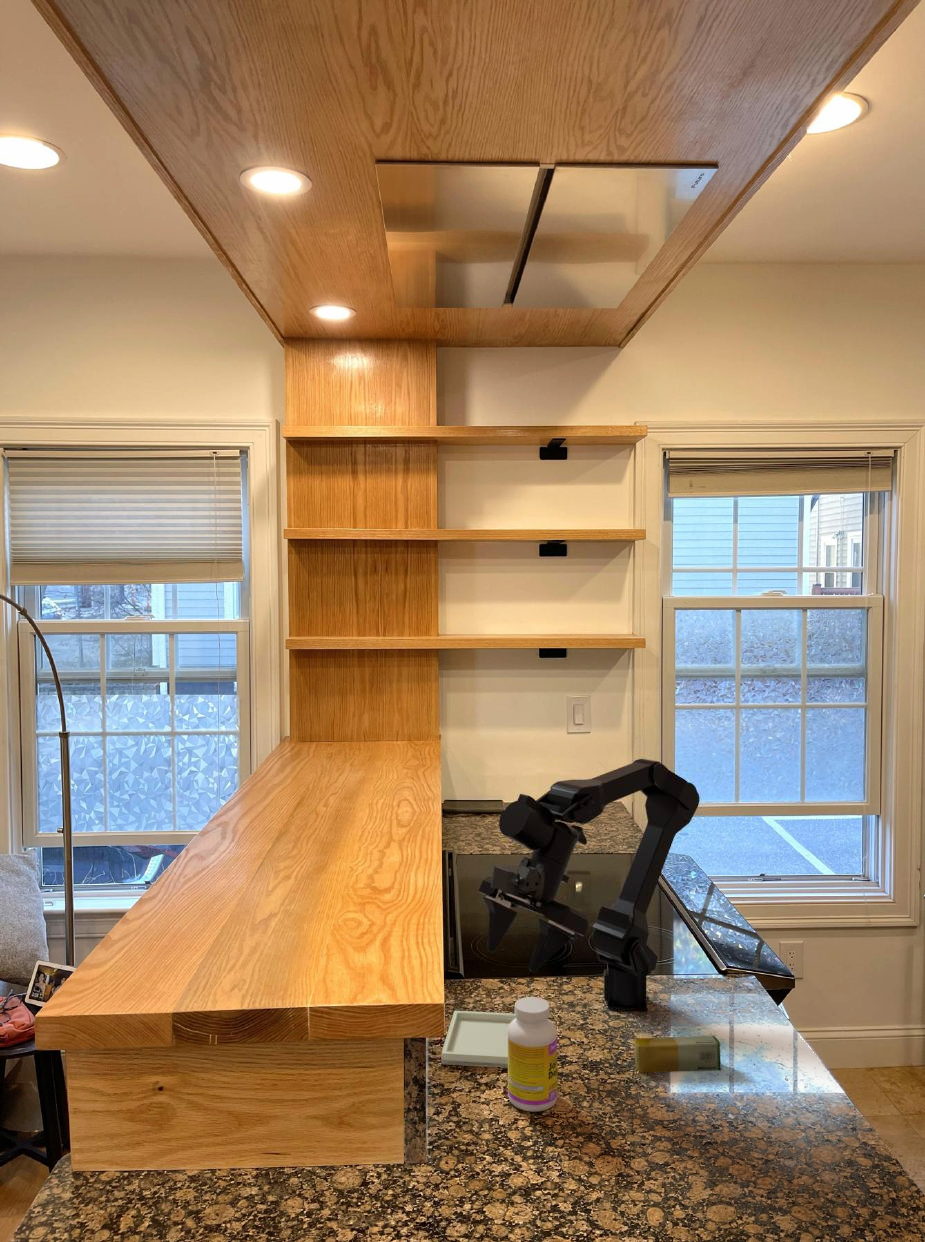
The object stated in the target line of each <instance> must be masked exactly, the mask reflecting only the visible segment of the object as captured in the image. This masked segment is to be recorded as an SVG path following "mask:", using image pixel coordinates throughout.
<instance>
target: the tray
mask: <svg viewBox="0 0 925 1242" xmlns="http://www.w3.org/2000/svg"><path fill="white" fill-rule="evenodd" d="M515 1018H516V1016H515V1013H511V1012H509V1013H508V1012H507V1013H506V1012H488V1011H485V1012H484V1011H472V1010H471V1011H470V1010H454V1011H453V1014H452V1018H451V1020H450V1024H449V1027H448V1030H447V1034H446V1037H445V1041H444V1042H443V1043H444V1044H443V1046H442V1050H441V1055H440V1056H441V1058H440V1059H441V1062H440V1063H441V1065H447V1066H448V1065H453V1066H465V1067H466V1066H467V1067H470V1066H471V1067H480V1068H481V1067H483V1068H497V1067H500V1069H508V1026H509V1024H510V1023H511V1021H513V1020H514V1019H515Z"/></svg>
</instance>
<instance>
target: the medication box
mask: <svg viewBox="0 0 925 1242" xmlns="http://www.w3.org/2000/svg"><path fill="white" fill-rule="evenodd" d="M633 1042H634V1045H633V1047H634V1062H633V1063H634V1065H635V1068H636V1070H637V1072H638V1073H674V1072H675V1073H679V1072H680V1073H681V1072H683V1073H684V1072H687V1073H689V1072H719V1071H722V1062H721V1041H720V1040H719V1039H718V1038H717V1037H716V1036H715V1035H698V1036H697V1035H695V1036H690V1035H689V1036H671V1037H669V1036H666V1037H643V1038H642V1037H641V1038H640V1037H639V1038H634V1041H633Z"/></svg>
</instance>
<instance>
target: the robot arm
mask: <svg viewBox="0 0 925 1242" xmlns="http://www.w3.org/2000/svg"><path fill="white" fill-rule="evenodd" d="M549 788H550V790H548V791H546V792H545V793H544V794H543V795H541V796H540V797H539V798H537V799H536V800H535V798H533V797H532V796H531V795H528V794H523V793H519V795H518V798H517V800H515V801H512V802H511V803H509V804H508V806H506V807H505V809H504V810H502V811H501V814H500V817H499V819H498V820H499V821H498V828H499V831H500V833H501V834H502V835H503V836H505V837H506V838H509V839H510V840H512V841H514V842H515V843H517V844H519V845H521V846H522V847H524V848H526V849H527V850H530V851H532V852H531V854H530V856H529V857H525V856H524V857H523V858H522V859H521V861H520V862H519V865H513V864H511V865H510V864H508V865H506V864H505V865H504V864H503V865H501V864H500V865H499V864H498V865H497V864H496V865H495V864H494V865H493V870H492V877H490V876H487V877H485V878H484V879H483V880H482V882H481V884H480V887H479V888H478V892H479V893H480V894H482V896H481V898H482V901H484V902H485V904H486V907H487V909H488V918H489V919H488V920H489V921H488V932H487V933H488V934H487V935H488V936H487V951H488V952H490V953H492V954H493V953H494V952H495V951H496V950H497V949H498V947H499V945H500V944H501V942H502V941H503V939H504V937H505V935H506V934H507V932H508V931H509V928H510V926H511V925H512V923H513V921H514V920H515V918H516V916H517V915H518V911H515V910H513V909H516V908H518V907H521V908H522V909H523V908H524V909H526V910H529V911H530V912H533V913H536V914H538V915H541V916H544V919H547V920H548V921H546V920H543V919H541V918H538V923H539V932H540V933H539V936H538V938H537V942H536V944H535V947H534V950H533V953H532V956H531V958H530V962H529V966H528V970H529V971H530V972H532V973H536V972H537V971H538V970H539V969H540V968H541V967H542V966H543V965H544V964H545V963H546V962H547V961H548V960H549V959H550V958H551V957H552V956H553V955H555V953H557V952H558V951H559V950H560V949H561V948H562V947H563V946H565V944H567V943H569V942H570V941H571V940H574V941H575V940H577V937H578V936H577V935H580V936H582V937H585V936H586V932H587V931H588V928H589V921H588V916H587V915H585V914H584V913H582V912H580V911H578V910H576V909H574V908H573V907H570V906H569V905H566V904H563V903H560V902H558V901H556V897H557V895H558V892H559V890H560V887H561V884H562V883H564V884H568V882H569V881H570V877H569V876H568V875H567V874H565V873H566V871H567V868H568V866H569V863H570V861H571V858H572V855H573V852H574V850H575V847H576V844H579V845H584V846H586V845H587V844H588V841H587V837H586V836H585V832H584V830H583V827H582V826H579V825H575V824H574V823H577V824H581V825H585V824H588V823H591V822H592V821H593V820H595V819H596V818H597V817H599V816H600V815H602V813H603V812H604V810H605V808H606V806H608V805H609V804H612V803H613V802H614V803H615V802H616V801H618V800H621V799H624V798H626V797H628V796H631V795H633V794H634V793H635V794H636V793H637V792H641V793H642V795H644V796H645V797H646V800H645V804H644V808H645V813H646V819H647V823H646V826H645V829H644V831H643V835H642V837H641V840H640V842H639V844H638V847H637V850H636V852H635V855H634V856H633V860H632V863H631V864H630V867H629V871H628V874H627V876H626V878H625V881H624V883H623V886H622V889H621V891H620V893H619V896H618V898H617V900H616V901H615V902H614V903H613V904H612V905H610V906H606V905H602V906H601V907H600V909H599V912H598V915H597V918H596V921H595V923H593V925H592V929H593V932H592V935H591V941H592V943H593V948H594V950H595V953H596V956H597V960H598V961H599V962H602V963H606V964H607V965H606V966H607V969H604V970H603V997H604V998H603V999H604V1002H605V1001H606V1002H607V1003H606V1004H607V1005H606V1006H607V1009H608V1010H616V1011H637V1012H639V1011H640V1012H648V1011H649V1005H648V999H647V998H648V997H647V996H648V995H647V994H648V993H647V992H648V991H647V989H648V988H647V976H650V975H651V973H652V971H655V970H656V967H657V963H658V955H657V954H656V953H655V952H654V951H653V950H652V948H650V946H649V945H647V944H648V939H649V938H648V937H649V935H650V933H649V927H648V921H647V920H648V919H647V911H648V909H649V906H650V903H651V901H652V899H653V895H654V893H655V890H656V888H657V884H658V882H659V879H660V876H661V874H662V871H663V868H664V866H665V863H666V861H667V858H668V855H669V853H670V850H671V847H672V844H673V842H674V839H675V837H676V834H678V833H679V832H680V831H681V830H683V829H684V828H685V827H686V826H687V825H689V824H690V822H691V821H692V819H693V817H694V815H695V813H696V811H697V809H698V807H699V804H700V802H701V801H700V799H701V797H700V794H699V792H698V790H697V788H696V786H695V784H694V783H692V782H688V780H686V779H685V778H683V777H681V776H680V775H678V774H677V773H675V772H673V771H671V770H670V769H669V768H668V767H667V766H666V765H665V764H663V763H661V762H660V761H657V760H653V759H652V760H651V759H647V758H639V759H636V760H634V761H633V762H632V763H629V764H626V765H624V766H621V767H618V768H616V769H613V770H611V771H607V772H605V773H603V774H601V775H598V776H595V777H592V778H587V779H586V778H585V779H568V780H567V779H565V780H558V781H556V782H554V783H553V784H552V785H551V786H550V787H549ZM567 823H568V824H567ZM569 824H571V825H569ZM483 895H485V896H483ZM537 904H540V905H537ZM575 934H577V935H575Z"/></svg>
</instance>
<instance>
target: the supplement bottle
mask: <svg viewBox="0 0 925 1242" xmlns="http://www.w3.org/2000/svg"><path fill="white" fill-rule="evenodd" d="M514 1014H515V1016H516V1018H515V1019H514V1020H513V1021H511V1023H510V1024H509V1026H508V1068H507V1096H508V1099H509V1101H510V1103H511V1104H512V1106H514V1107H515V1108H517V1109H519V1110H522V1111H525V1112H530V1113H531V1112H532V1113H533V1112H535V1113H536V1112H542V1111H546V1110H548V1109H551V1108H552V1107H553V1106H554V1105H555V1104H556V1102H557V1101H558V1092H559V1091H558V1090H559V1089H558V1031H557V1027H556V1025H555V1023H554V1022H553V1021H552V1020H551V1019H549V1017H550V1015H551V1011H550V1003H549V1001H547V1000H546V999H544V998H540V997H535V996H527V997H522V998H519V999H518V1000H516V1001H515V1003H514Z"/></svg>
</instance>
